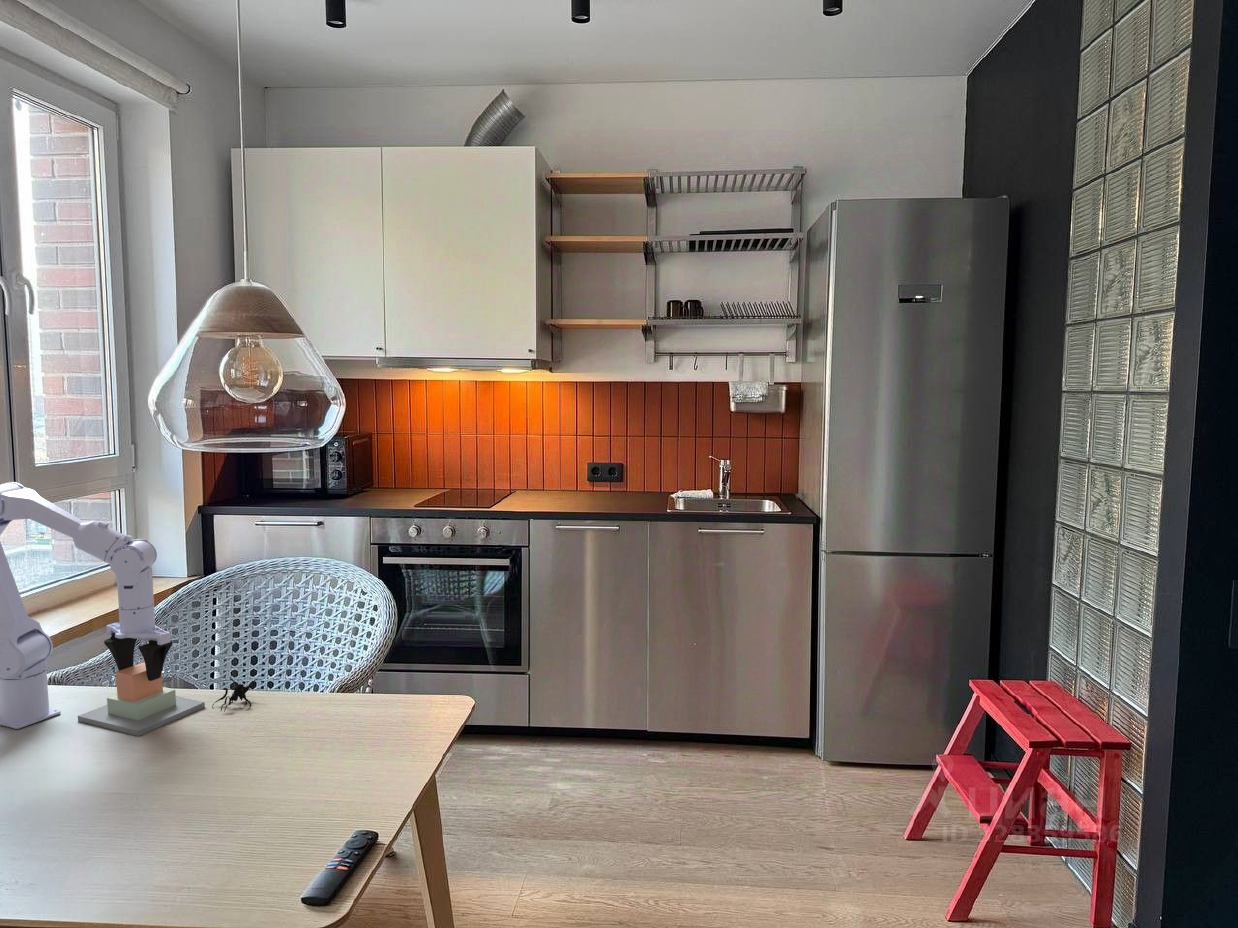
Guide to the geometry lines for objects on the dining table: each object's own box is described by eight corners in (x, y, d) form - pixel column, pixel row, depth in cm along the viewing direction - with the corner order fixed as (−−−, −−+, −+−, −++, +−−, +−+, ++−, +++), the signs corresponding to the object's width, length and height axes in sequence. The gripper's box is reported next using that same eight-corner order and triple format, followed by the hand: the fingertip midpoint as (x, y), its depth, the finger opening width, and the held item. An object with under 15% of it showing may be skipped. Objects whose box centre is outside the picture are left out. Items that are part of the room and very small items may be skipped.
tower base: (78, 720, 153) (76, 700, 152) (146, 694, 166) (145, 675, 165) (138, 735, 147) (137, 714, 146) (204, 706, 159) (203, 687, 159)
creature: (243, 720, 156) (265, 696, 164) (238, 696, 155) (261, 672, 162) (205, 718, 157) (229, 693, 165) (200, 693, 156) (224, 670, 163)
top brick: (117, 697, 154) (115, 671, 153) (146, 686, 159) (145, 661, 158) (133, 701, 152) (132, 675, 151) (162, 690, 157) (161, 664, 157)
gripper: (89, 606, 153) (93, 677, 154) (144, 616, 147) (148, 689, 149) (124, 597, 159) (128, 665, 161) (178, 606, 154) (182, 676, 155)
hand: (140, 675), depth 155 cm, fingers open, 7 cm apart
